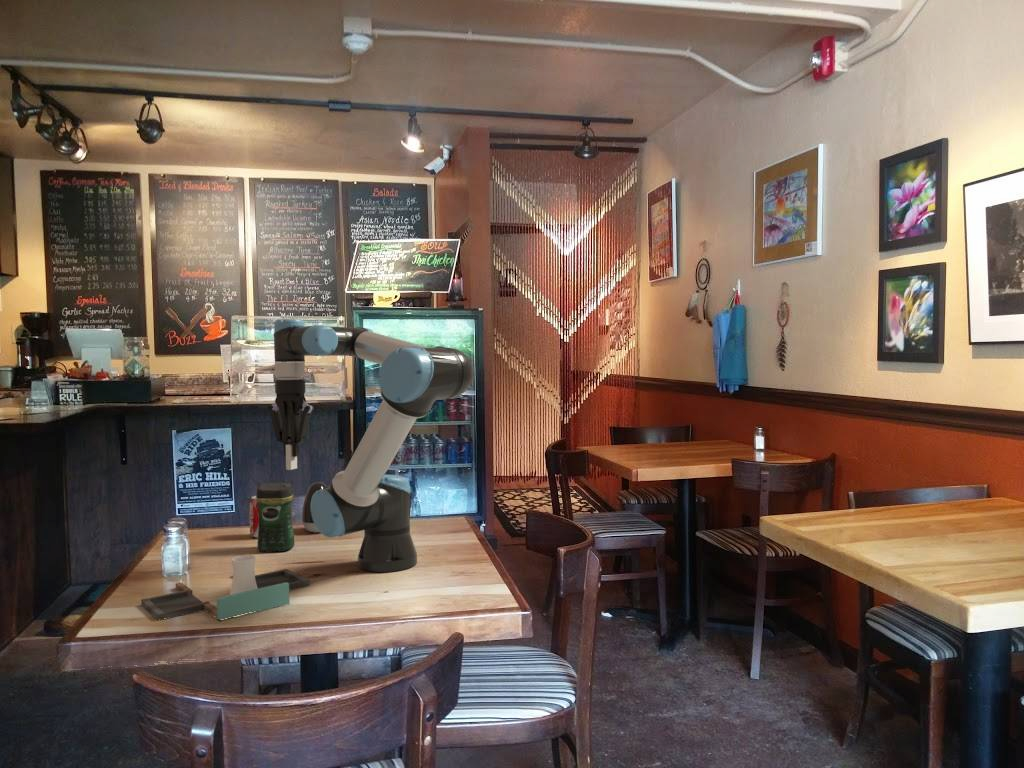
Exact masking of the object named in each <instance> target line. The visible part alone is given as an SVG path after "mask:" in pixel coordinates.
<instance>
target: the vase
mask: <svg viewBox="0 0 1024 768" xmlns="http://www.w3.org/2000/svg"><path fill="white" fill-rule="evenodd" d="M230 561H231V565H232V582H231V588H230V590H229V594H228V595H232V594H237V593H241V592H245V591H250V590H254V589H258V588H257V584H256V580H255V575H256V574H255V564H256V563H255V561H256V556H255V555H251V554H250V555H249V554H245V555H244V554H243V555H237V556H234V557H232V558H231V560H230Z"/></svg>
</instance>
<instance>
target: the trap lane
mask: <svg viewBox="0 0 1024 768" xmlns="http://www.w3.org/2000/svg"><path fill="white" fill-rule="evenodd" d="M255 580H256V584H257V588H258V589H259V588H263V587H268V586H272V585H276V584H281V583H285V582H287V583H289V589H291V590H295V588H296V589H300V588H304V587H308V586H310V580H309V579H308V578H306V577H304V576H301V575H300V574H299V573H295V572H294V571H291V570H289V569H288V568H283V569H279V570H278V569H277V570H275V571H270V572H265V573H261V574H255ZM299 587H300V588H299ZM175 589H176V591H175V592H172V593H167V594H161V595H158V596H156V595H155V596H152V597H148V598H143V599H141V606H142V607H143V608H144V609H145V610H146V611H147V612H148V613H149V614H150V615H152V616H153V617H154V616H155V617H156V618H157V619H158V620H159V619H163V620H165V619H164V618H167V619H169V618H168V617H172V618H174V617H173V616H176V617H179V616H178V615H180V616H183V615H182V614H184V615H187V614H186V613H189V614H192V613H191V612H193V613H196V612H195V611H197V612H200V611H199V610H202V611H205V610H206V611H208V612H209V613H210V614H212V615H213V616H215V617H216V618H217V606H215V605H214V604H213V603H211V602H209V601H204V602H203V601H201V599H199V598H198V597H196V596H195V595H193V589H191V588H190V587H188V586H187V585H186V584H184V583H183V582H176V583H175ZM178 590H179V591H178ZM203 609H205V610H203ZM206 611H205V612H206ZM208 612H207V613H208ZM209 613H208V614H209ZM210 614H209V615H210ZM212 615H211V616H212ZM213 616H212V617H213ZM155 617H154V618H155ZM156 618H155V619H156ZM216 618H215V619H216ZM157 619H156V620H157ZM158 620H157V621H158ZM159 621H160V620H159Z"/></svg>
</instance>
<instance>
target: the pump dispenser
mask: <svg viewBox="0 0 1024 768" xmlns="http://www.w3.org/2000/svg"><path fill="white" fill-rule="evenodd" d="M328 487H329V485H328V486H327V485H326V484H325V483H323V482H321V481H317V482H313V483H312V484H310V486H309V487H308V490H307V491H306V494H305V497H304V499H303V504H302V509H301V522H302V524H303V527H304V529H305V530H307V531H308V532H309V533H312V532H313V533H315V534H321V533H320V532H319V530H318V529H317V528H316V526H315V524H314V522H313V519H312V514H311V499H312V496H313V494H314V493H315V492H316V491H318V490H320V489H326V488H328Z"/></svg>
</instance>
